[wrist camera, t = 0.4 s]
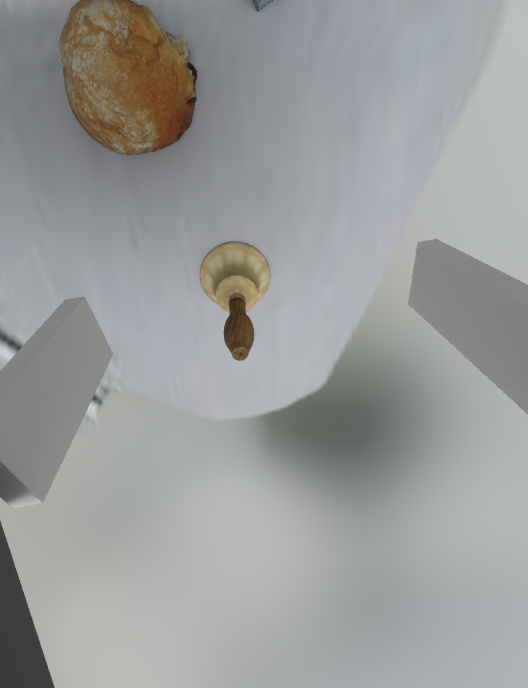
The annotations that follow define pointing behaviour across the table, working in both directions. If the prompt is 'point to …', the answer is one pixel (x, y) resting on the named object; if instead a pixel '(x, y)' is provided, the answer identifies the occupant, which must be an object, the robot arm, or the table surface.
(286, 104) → the table surface
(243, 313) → the hand bell
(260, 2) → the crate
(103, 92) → the bread roll
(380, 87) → the table surface
